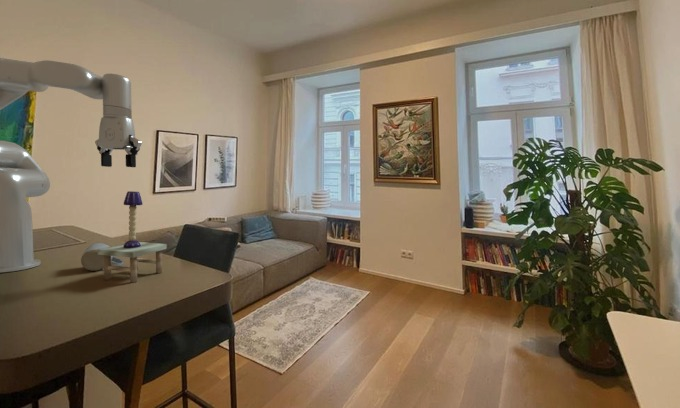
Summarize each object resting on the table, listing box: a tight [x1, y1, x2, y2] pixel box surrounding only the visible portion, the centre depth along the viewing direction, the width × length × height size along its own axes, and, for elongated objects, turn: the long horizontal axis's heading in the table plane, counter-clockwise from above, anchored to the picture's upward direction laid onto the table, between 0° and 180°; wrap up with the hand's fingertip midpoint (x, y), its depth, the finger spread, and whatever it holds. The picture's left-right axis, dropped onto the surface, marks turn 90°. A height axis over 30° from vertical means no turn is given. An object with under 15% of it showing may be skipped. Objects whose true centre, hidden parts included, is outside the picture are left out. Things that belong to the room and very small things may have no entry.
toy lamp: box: [123, 190, 143, 248], centre depth 88 cm, size 5×5×17 cm
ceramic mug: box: [80, 242, 125, 272], centre depth 96 cm, size 11×8×8 cm
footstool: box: [98, 241, 168, 284], centre depth 89 cm, size 12×12×9 cm
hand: (118, 166), depth 97 cm, fingers open, 9 cm apart
